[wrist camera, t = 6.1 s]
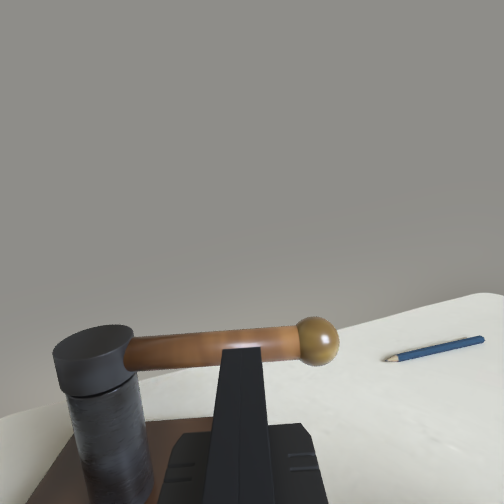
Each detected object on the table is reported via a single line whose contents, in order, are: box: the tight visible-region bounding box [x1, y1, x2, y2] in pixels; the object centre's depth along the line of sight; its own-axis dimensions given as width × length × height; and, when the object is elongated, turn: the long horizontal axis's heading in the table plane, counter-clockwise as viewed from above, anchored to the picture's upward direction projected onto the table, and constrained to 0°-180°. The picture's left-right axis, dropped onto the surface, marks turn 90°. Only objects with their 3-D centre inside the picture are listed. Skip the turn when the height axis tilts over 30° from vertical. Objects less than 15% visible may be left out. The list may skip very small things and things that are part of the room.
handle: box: [52, 317, 340, 396], centre depth 21 cm, size 18×5×3 cm, turn 91°
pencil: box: [385, 336, 485, 362], centre depth 41 cm, size 1×1×15 cm
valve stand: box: [26, 372, 213, 504], centre depth 22 cm, size 14×14×11 cm
